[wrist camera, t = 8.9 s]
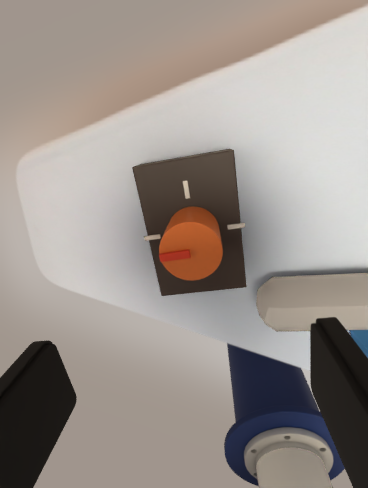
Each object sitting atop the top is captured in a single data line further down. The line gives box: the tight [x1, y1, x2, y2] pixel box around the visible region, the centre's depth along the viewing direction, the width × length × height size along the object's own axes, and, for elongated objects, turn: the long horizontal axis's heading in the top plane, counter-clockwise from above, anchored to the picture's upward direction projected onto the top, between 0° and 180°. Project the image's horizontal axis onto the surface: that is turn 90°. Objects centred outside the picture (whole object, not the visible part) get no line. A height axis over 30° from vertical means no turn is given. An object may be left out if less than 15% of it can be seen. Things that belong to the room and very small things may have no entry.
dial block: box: [133, 149, 246, 296], centre depth 23 cm, size 12×9×3 cm
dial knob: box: [159, 207, 223, 280], centre depth 20 cm, size 4×4×5 cm
